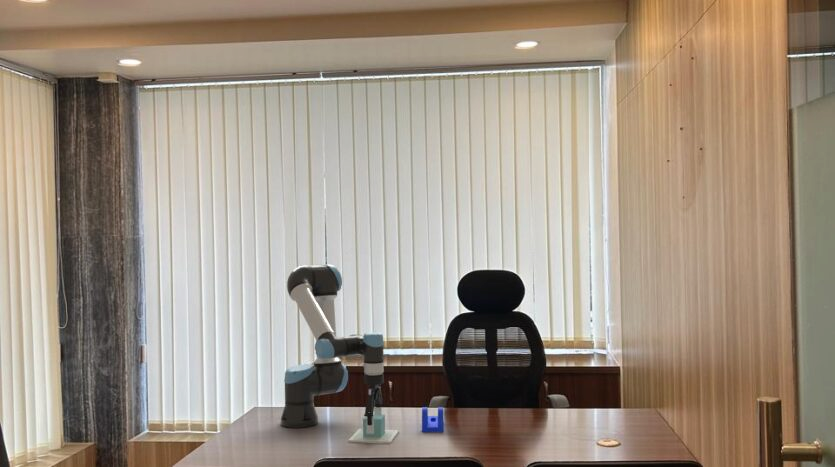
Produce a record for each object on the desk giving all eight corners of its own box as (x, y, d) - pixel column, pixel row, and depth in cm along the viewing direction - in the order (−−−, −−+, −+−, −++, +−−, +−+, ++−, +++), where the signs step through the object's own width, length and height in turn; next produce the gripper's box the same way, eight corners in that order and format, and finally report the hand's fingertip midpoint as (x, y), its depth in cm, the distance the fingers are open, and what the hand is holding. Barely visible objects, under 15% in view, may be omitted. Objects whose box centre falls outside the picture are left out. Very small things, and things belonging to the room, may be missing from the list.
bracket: (443, 432, 302) (443, 409, 301) (422, 432, 302) (421, 409, 302) (443, 420, 319) (443, 399, 319) (423, 420, 320) (423, 399, 320)
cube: (367, 432, 299) (367, 414, 299) (384, 432, 298) (384, 414, 298) (363, 436, 292) (362, 418, 292) (381, 437, 291) (381, 419, 291)
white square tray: (358, 430, 304) (358, 428, 304) (398, 432, 302) (398, 430, 302) (348, 442, 288) (348, 439, 288) (390, 443, 286) (390, 441, 286)
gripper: (371, 367, 308) (371, 420, 308) (356, 379, 283) (356, 437, 283) (389, 367, 306) (390, 420, 307) (376, 380, 282) (376, 437, 282)
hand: (374, 428), depth 295 cm, fingers open, 13 cm apart
